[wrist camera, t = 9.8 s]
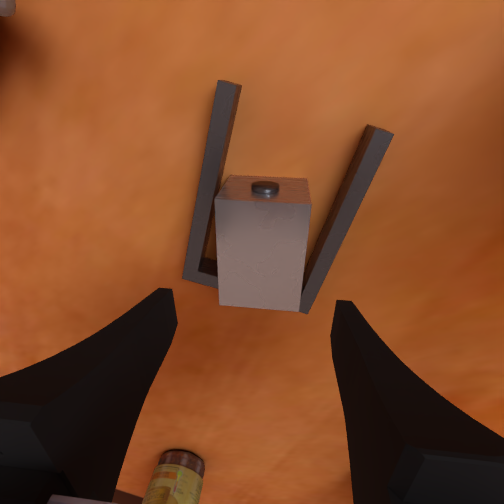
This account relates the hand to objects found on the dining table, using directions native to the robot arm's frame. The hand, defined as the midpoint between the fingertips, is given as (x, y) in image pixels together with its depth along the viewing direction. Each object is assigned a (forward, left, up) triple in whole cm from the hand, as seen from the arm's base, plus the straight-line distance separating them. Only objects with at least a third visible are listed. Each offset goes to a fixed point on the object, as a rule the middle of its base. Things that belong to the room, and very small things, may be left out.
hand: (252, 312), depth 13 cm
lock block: (0, 0, -10) cm, 10 cm away
